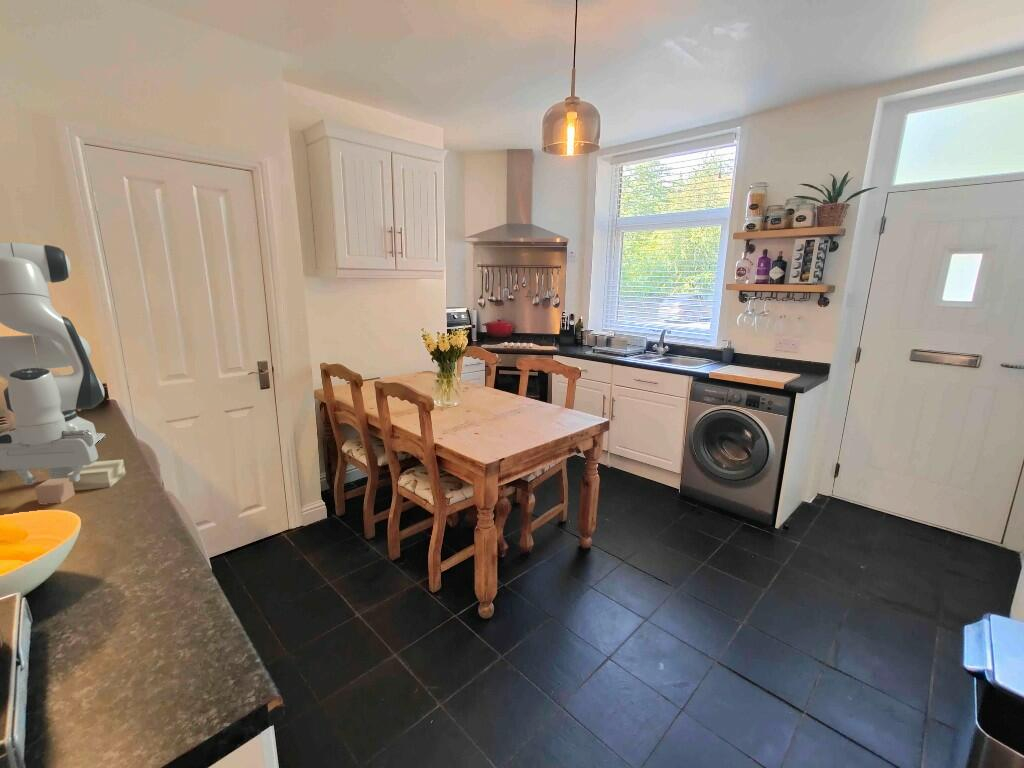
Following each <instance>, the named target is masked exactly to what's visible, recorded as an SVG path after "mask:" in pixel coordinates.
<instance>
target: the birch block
mask: <svg viewBox="0 0 1024 768" xmlns="http://www.w3.org/2000/svg"><path fill="white" fill-rule="evenodd" d="M125 468H126V467H125V461H124V459H113V460H112V459H111V460H99V461H98V460H96V461H95V462H94V463H92V464H90V465H85V466H83V468H82V470H81V472H80V473H79V474H80V480H79V481H77V482H73V487H74V491H83V490H93V489H102V488H103V489H104V488H105V489H106V488H111V487H112V486H114V485H115V484H116V483H117V482H119V480H121V479H122V478H123V477H124V476H126V475H127V473H126V469H125ZM73 472H74V471H72V472H71V473H69V474H68V475H67V477H68V476H70V475H71V474H73ZM125 474H126V475H125Z"/></svg>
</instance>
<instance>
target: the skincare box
mask: <svg viewBox="0 0 1024 768" xmlns="http://www.w3.org/2000/svg"><path fill="white" fill-rule="evenodd" d="M72 471H74V470H72V469H71V466H69V467H53V468H48V472H49V477H50V478H49V479H58V478H68V477H67V475H68V474H69V473H71V472H72Z"/></svg>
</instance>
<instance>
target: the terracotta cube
mask: <svg viewBox="0 0 1024 768" xmlns="http://www.w3.org/2000/svg"><path fill="white" fill-rule="evenodd" d="M34 490H35V495H36V499H37V504H38V503H57V504H63V503H64V502H66V501H67V500H69V499H71V498H72V497H73V496H75V495H76V492H75V490H74V487H73V482H69V478H58V479H51V478H48V479H47V480H44V481H43V482H42V483H40V484H37V485H36V486H35V487H34ZM62 502H63V503H62Z"/></svg>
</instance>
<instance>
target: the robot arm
mask: <svg viewBox="0 0 1024 768" xmlns="http://www.w3.org/2000/svg"><path fill="white" fill-rule="evenodd" d="M71 270H72V264H71V260H70V258H69V257H68V256H67V254H66V253H65V251H64V250H63V249H62V248H60V247H58V246H54V245H49V244H44V245H42V244H35V243H29V242H28V243H27V242H19V241H18V242H16V241H15V242H14V241H11V242H5V241H4V242H2V241H0V324H1V325H3V326H4V327H7V328H9V329H10V330H13V331H16V332H20V333H22V334H26V335H7V336H6V335H5V336H2V335H1V336H0V377H2V378H3V379H5V380H6V381H7V387H6V388H5V389H4V390H3V397H4V400H5V405H6V409H7V410H8V411H10V412H12V413H14V415H15V419H14V427H15V428H11V429H9V430H7V431H3V432H2V433H0V471H1V472H2V471H16V474H17V475H19V476H20V477H21V478H22V479H23V480H24V483H25V485H26V486H29V485H31V486H32V485H36V484H37V483H38V476H37V475H33V474H31V472H30V470H33V469H49V468H53V467H69V466H71V469H72V470H74V472H73V474H71V475H70V476H68V478H69V482H77V481H79V480H80V474H79V473H80V472H81V470H82V468H83V466H85V465H90V464H92V463H94V462H96V461H98V459H99V455H98V450H97V447H96V445H97V444H98V443H99V442H100V441H102V440H103V439H104V438H105V437H106V436H105V435H106V433H103V432H97V429H96V426H95V424H94V423H93V422H92V421H89V420H87V419H85V418H83V417H80V416H78V413H77V412H81V411H82V410H91V409H94V408H96V407H97V406H99V404H101V403H102V402H103V401H104V399H105V387H104V385H103V383H102V381H101V380H100V379H99V377H98V376H97V374H96V372H95V371H94V368H93V365H92V362H91V361H90V357H91V354H92V348H91V345H90V342H88V340H87V339H86V338H84V337H83V336H82V335H80V334H78V333H77V329H76V328H75V326H74V324H73V322H72V321H71V320H70V319H69V318H68V317H66V316H63V315H61V314H60V313H59V312H57V310H56V309H55V308H54V307H53V304H52V300H51V294H50V289H49V286H48V282H51V284H52V283H60V282H65V281H66V280H67V279H69V276H70V274H71V272H72V271H71ZM68 367H72V369H73V373H71V374H63V375H53V372H52V371H51V370H50V369H58V368H68ZM104 436H105V437H104ZM103 437H104V438H103ZM102 438H103V439H102ZM101 439H102V440H101ZM99 440H100V441H99ZM98 441H99V442H98ZM97 442H98V443H97ZM96 443H97V444H96ZM95 444H96V445H95Z"/></svg>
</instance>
